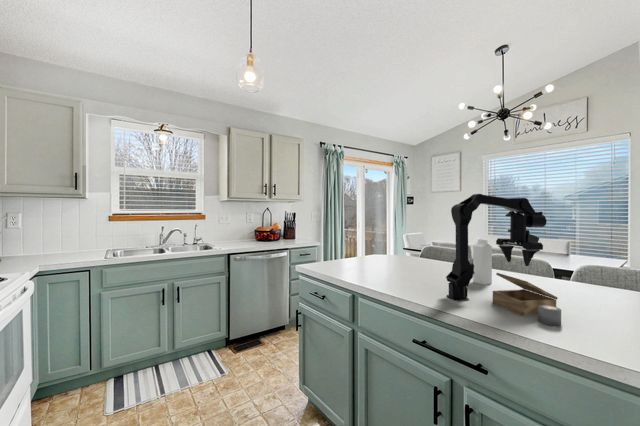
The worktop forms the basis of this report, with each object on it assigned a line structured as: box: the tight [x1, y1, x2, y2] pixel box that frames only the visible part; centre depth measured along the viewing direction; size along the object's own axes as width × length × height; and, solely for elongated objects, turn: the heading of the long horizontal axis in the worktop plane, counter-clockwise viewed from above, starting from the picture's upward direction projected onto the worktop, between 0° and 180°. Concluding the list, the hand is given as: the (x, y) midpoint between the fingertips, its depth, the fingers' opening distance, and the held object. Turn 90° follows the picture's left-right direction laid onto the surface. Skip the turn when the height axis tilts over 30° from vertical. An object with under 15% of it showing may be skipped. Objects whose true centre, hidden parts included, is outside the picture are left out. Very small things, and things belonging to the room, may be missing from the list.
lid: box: [495, 272, 559, 301], centre depth 111 cm, size 14×14×1 cm
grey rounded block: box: [537, 305, 562, 328], centre depth 97 cm, size 6×6×5 cm
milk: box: [472, 238, 493, 286], centre depth 149 cm, size 6×6×22 cm
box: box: [492, 288, 557, 317], centre depth 111 cm, size 14×14×5 cm
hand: (517, 263), depth 125 cm, fingers open, 9 cm apart
